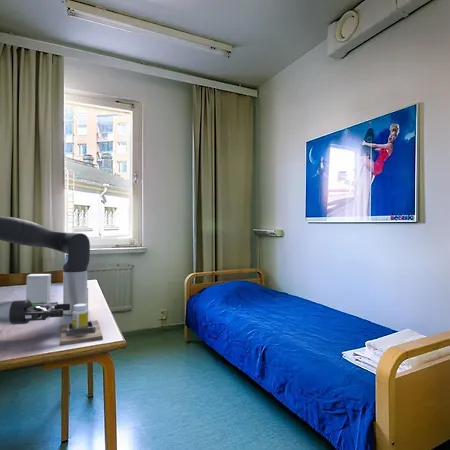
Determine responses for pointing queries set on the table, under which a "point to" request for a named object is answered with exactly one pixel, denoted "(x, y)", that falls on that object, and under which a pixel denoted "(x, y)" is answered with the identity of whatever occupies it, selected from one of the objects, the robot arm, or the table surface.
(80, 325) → the supplement bottle
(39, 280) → the skincare box
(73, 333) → the seat board
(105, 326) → the table surface
